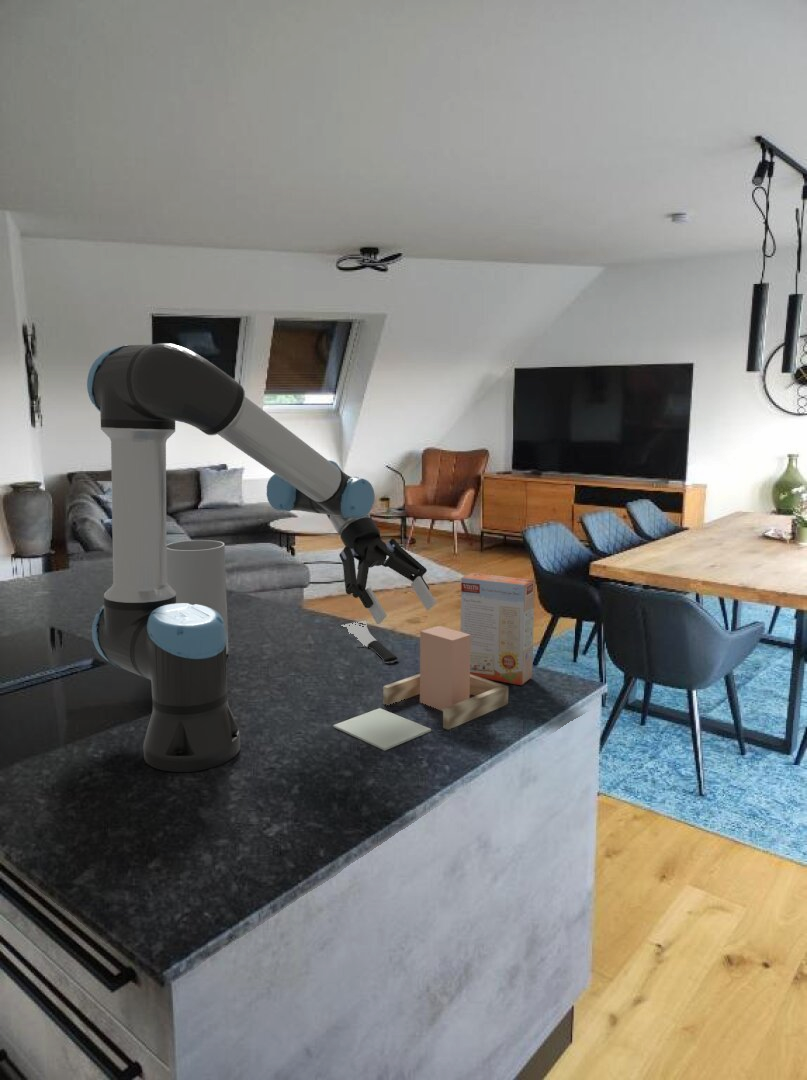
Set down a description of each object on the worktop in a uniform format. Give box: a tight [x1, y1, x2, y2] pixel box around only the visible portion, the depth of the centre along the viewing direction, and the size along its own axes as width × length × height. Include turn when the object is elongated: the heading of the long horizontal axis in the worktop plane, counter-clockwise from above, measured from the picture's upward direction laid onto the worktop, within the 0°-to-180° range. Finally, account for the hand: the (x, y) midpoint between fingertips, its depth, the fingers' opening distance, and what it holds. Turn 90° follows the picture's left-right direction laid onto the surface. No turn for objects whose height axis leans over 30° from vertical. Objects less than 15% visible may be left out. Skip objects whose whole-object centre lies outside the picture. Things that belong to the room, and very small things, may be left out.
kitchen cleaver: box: [340, 620, 399, 664], centre depth 185 cm, size 31×2×10 cm
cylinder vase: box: [167, 539, 229, 656], centre depth 174 cm, size 12×12×25 cm
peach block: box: [419, 625, 471, 712], centre depth 147 cm, size 5×8×14 cm, turn 45°
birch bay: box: [382, 673, 509, 730], centre depth 149 cm, size 17×16×4 cm
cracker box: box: [460, 572, 536, 686], centre depth 162 cm, size 14×6×21 cm, turn 59°
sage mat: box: [333, 707, 432, 752], centre depth 138 cm, size 11×13×1 cm
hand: (407, 613), depth 153 cm, fingers open, 13 cm apart
